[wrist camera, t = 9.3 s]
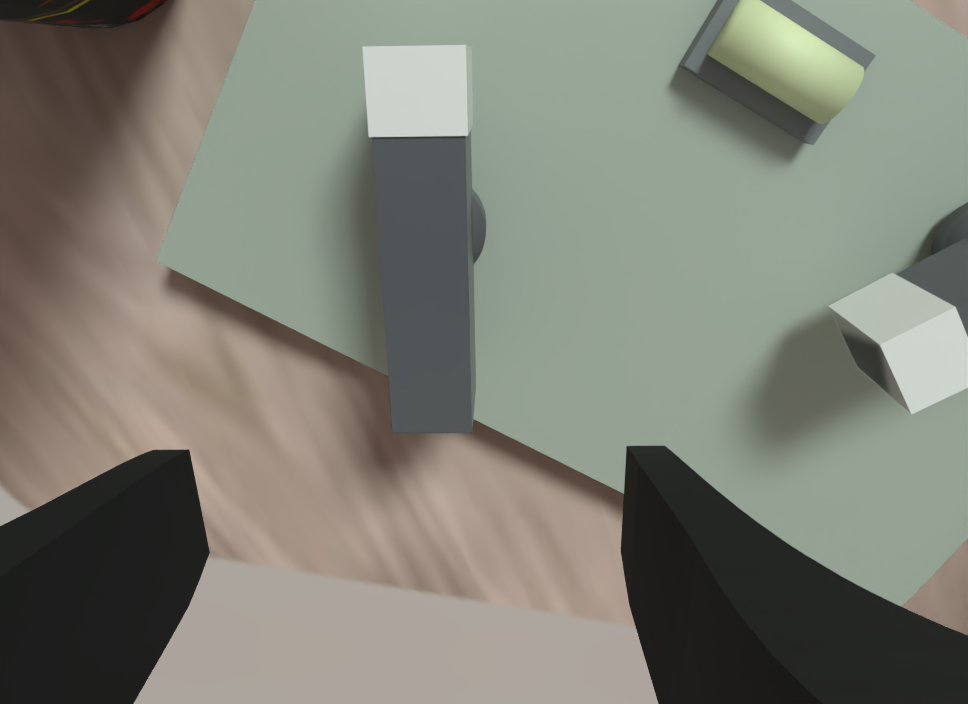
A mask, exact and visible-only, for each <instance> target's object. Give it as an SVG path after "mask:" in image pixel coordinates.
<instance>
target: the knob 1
mask: <svg viewBox="0 0 968 704" xmlns="http://www.w3.org/2000/svg"><path fill="white" fill-rule="evenodd" d="M362 49H363V63H364V78H365V92H366V106H367V120H368V135H369V137H372V148H373V163H374V177H375V192H376V206H377V221H378V235H379V250H380V265H381V279H382V294H383V308H384V323H385V337H386V352H387V366H388V381H389V395H390V410H391V425H392V433H472V429H473V417H474V405H475V393H476V359H475V309H474V263H475V262H476V261H477V259H478V258H479V256H480V254H481V252H482V250H483V247H484V243H485V237H486V225H487V222H486V214H485V210H484V207H483V204H482V202H481V200H480V198H479V197H478V195H477V194H476V193H475V192H474V190H473V189H472V160H471V128H472V126H473V91H472V47H470V46H467V45H421V46H362Z"/></svg>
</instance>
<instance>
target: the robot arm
mask: <svg viewBox="0 0 968 704" xmlns="http://www.w3.org/2000/svg"><path fill="white" fill-rule="evenodd" d="M209 553H210V552H209V547H208V542H207V537H206V532H205V527H204V522H203V517H202V512H201V507H200V502H199V496H198V491H197V486H196V481H195V476H194V471H193V466H192V461H191V456H190V451H189V450H152V451H149V452H147V453H144V454H142V455H139V456H137V457H135V458H133V459H131V460H128V461H126V462H124V463H122V464H120V465H118V466H116V467H114V468H112V469H110V470H108V471H107V472H105V473H103V474H101V475H99V476H97V477H95V478H93V479H91V480H89V481H88V482H86V483H84V484H82V485H80V486H78V487H76V488H74V489H72V490H71V491H69V492H67V493H65V494H63V495H61V496H59V497H57V498H55V499H54V500H52V501H50V502H48V503H46V504H44V505H42V506H40V507H38V508H36V509H34V510H32V511H30V512H28V513H26V514H24V515H22V516H20V517H18V518H16V519H14V520H12V521H10V522H8V523H6V524H4V525H2V526H0V704H133V703H134V702H135V700H136V698H137V696H138V694H139V693H140V691H141V689H142V688H143V686H144V684H145V682H146V681H147V679H148V677H149V675H150V674H151V672H152V670H153V668H154V667H155V665H156V663H157V662H158V660H159V658H160V656H161V655H162V653H163V651H164V649H165V648H166V646H167V644H168V642H169V641H170V639H171V637H172V635H173V633H174V632H175V630H176V628H177V626H178V625H179V623H180V621H181V619H182V617H183V615H184V613H185V612H186V610H187V608H188V606H189V604H190V602H191V599H192V597H193V594H194V592H195V589H196V587H197V585H198V582H199V580H200V577H201V574H202V572H203V569H204V566H205V563H206V561H207V558H208V555H209ZM621 555H622V561H623V568H624V575H625V581H626V587H627V593H628V599H629V605H630V608H631V612H632V615H633V619H634V622H635V626H636V629H637V633H638V636H639V639H640V643H641V646H642V650H643V653H644V656H645V660H646V663H647V666H648V669H649V673H650V676H651V680H652V683H653V686H654V690H655V693H656V696H657V700H658V703H659V704H968V636H967V635H965V634H962V633H960V632H957V631H955V630H952V629H950V628H947V627H945V626H943V625H940V624H938V623H936V622H934V621H931V620H929V619H927V618H924V617H922V616H920V615H918V614H915V613H913V612H911V611H909V610H907V609H905V608H903V607H901V606H899V605H897V604H895V603H893V602H890V601H888V600H886V599H884V598H882V597H880V596H878V595H876V594H874V593H872V592H870V591H868V590H866V589H864V588H862V587H860V586H859V585H857V584H855V583H853V582H851V581H849V580H847V579H846V578H844V577H842V576H840V575H838V574H837V573H835V572H833V571H832V570H830V569H828V568H827V567H825V566H823V565H822V564H820V563H818V562H817V561H815V560H813V559H812V558H810V557H808V556H806V555H805V554H803V553H802V552H800V551H799V550H797V549H795V548H794V547H792V546H791V545H789V544H788V543H786V542H785V541H783V540H782V539H781V538H779V537H778V536H776V535H775V534H774V533H772V532H771V531H769V530H768V529H766V528H765V527H764V526H762V525H761V524H759V523H758V522H757V521H755V520H754V519H753V518H751V517H750V516H749V515H747V514H746V513H745V512H743V511H742V510H741V509H740V508H738V507H737V506H736V505H734V504H733V503H732V502H731V501H729V500H728V499H727V498H726V497H725V496H723V495H722V494H721V493H720V492H718V491H717V490H716V489H715V488H714V487H713V486H711V485H710V484H709V483H708V482H707V481H705V480H704V479H703V478H702V477H701V476H700V475H699V474H697V473H696V472H695V471H694V470H693V469H692V468H690V467H689V466H688V465H687V464H686V463H685V462H684V461H682V460H681V459H680V458H679V457H678V456H677V455H676V454H674V453H673V452H672V451H671V450H670V449H668V448H667V447H666V446H627V447H626V465H625V484H624V502H623V521H622V539H621Z"/></svg>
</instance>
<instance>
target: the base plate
mask: <svg viewBox="0 0 968 704" xmlns="http://www.w3.org/2000/svg"><path fill="white" fill-rule="evenodd" d="M421 45H467V46H470V47H472V91H473V126H472V128H471V160H472V189H473V190H474V192H475V193H476V194H477V195H478V197H479V198H480V200H481V202H482V204H483V207H484V210H485V214H486V222H487V225H486V237H485V243H484V247H483V250H482V252H481V254H480V256H479V258H478V259H477V261H476V262H475V263H474V309H475V359H476V393H475V405H474V417H473V419H474V420H476V421H478V422H480V423H482V424H484V425H486V426H488V427H490V428H492V429H494V430H496V431H498V432H501V433H503V434H505V435H507V436H509V437H511V438H513V439H515V440H517V441H519V442H521V443H523V444H525V445H527V446H529V447H531V448H533V449H535V450H537V451H539V452H541V453H543V454H545V455H547V456H549V457H551V458H553V459H555V460H557V461H559V462H561V463H563V464H565V465H567V466H569V467H571V468H573V469H575V470H577V471H579V472H581V473H583V474H585V475H587V476H589V477H591V478H593V479H595V480H597V481H599V482H601V483H603V484H605V485H607V486H609V487H611V488H613V489H615V490H617V491H619V492H621V493H623V494H624V484H625V465H626V447H627V446H666V447H667V448H668V449H670V450H671V451H672V452H673V453H674V454H676V455H677V456H678V457H679V458H680V459H681V460H682V461H684V462H685V463H686V464H687V465H688V466H689V467H690V468H692V469H693V470H694V471H695V472H696V473H697V474H699V475H700V476H701V477H702V478H703V479H704V480H705V481H707V482H708V483H709V484H710V485H711V486H713V487H714V488H715V489H716V490H717V491H718V492H720V493H721V494H722V495H723V496H725V497H726V498H727V499H728V500H729V501H731V502H732V503H733V504H734V505H736V506H737V507H738V508H740V509H741V510H742V511H743V512H745V513H746V514H747V515H749V516H750V517H751V518H753V519H754V520H755V521H757V522H758V523H759V524H761V525H762V526H764V527H765V528H766V529H768V530H769V531H771V532H772V533H774V534H775V535H776V536H778V537H779V538H781V539H782V540H783V541H785V542H786V543H788V544H789V545H791V546H792V547H794V548H795V549H797V550H799V551H800V552H802V553H803V554H805V555H806V556H808V557H810V558H812V559H813V560H815V561H817V562H818V563H820V564H822V565H823V566H825V567H827V568H828V569H830V570H832V571H833V572H835V573H837V574H838V575H840V576H842V577H844V578H846V579H847V580H849V581H851V582H853V583H855V584H857V585H859V586H860V587H862V588H864V589H866V590H868V591H870V592H872V593H874V594H876V595H878V596H880V597H882V598H884V599H886V600H888V601H890V602H893V603H895V604H897V605H899V606H901V607H902V606H903V605H904V604H905V603H906V602H907V601H908V600H909V599H910V598H911V597H912V596H913V595H914V594H915V593H916V592H917V591H918V590H919V588H920V587H921V586H922V585H923V584H924V583H925V582H926V581H927V580H928V579H929V578H930V577H931V576H932V575H933V574H934V573H935V572H936V571H937V570H938V569H939V568H940V567H941V566H942V565H943V564H944V563H945V562H946V561H947V560H948V559H949V557H950V556H951V555H952V554H953V553H954V552H955V551H956V550H957V549H958V548H959V547H960V546H961V545H962V544H963V543H964V542H965V541H966V540H967V539H968V388H966V389H964V390H962V391H960V392H958V393H956V394H954V395H951V396H949V397H947V398H945V399H943V400H941V401H939V402H937V403H935V404H933V405H930V406H928V407H926V408H924V409H922V410H920V411H918V412H916V413H914V414H910V413H909V412H908V411H907V410H906V409H905V408H903V407H902V406H901V405H900V404H899V403H898V402H897V401H895V400H894V399H893V398H892V397H891V396H890V395H888V394H887V393H886V392H885V391H884V390H883V389H881V388H880V387H879V386H878V385H877V384H876V383H874V382H873V381H872V380H871V379H870V378H869V377H867V376H866V375H865V374H864V373H863V372H862V371H861V370H859V369H858V368H857V366H856V364H855V362H854V360H853V357H852V355H851V353H850V351H849V349H848V347H847V345H846V343H845V340H844V338H843V336H842V334H841V332H840V330H839V328H838V326H837V323H836V321H835V319H834V317H833V315H832V313H831V311H830V309H829V307H828V306H829V305H831V304H833V303H835V302H837V301H839V300H841V299H843V298H845V297H846V296H848V295H850V294H852V293H854V292H856V291H858V290H860V289H862V288H864V287H866V286H868V285H870V284H871V283H873V282H875V281H877V280H879V279H881V278H883V277H885V276H887V275H889V274H891V273H894V274H897V273H899V272H901V271H903V270H905V269H907V268H908V267H910V266H912V265H914V264H916V263H918V262H920V261H922V260H924V259H926V258H928V257H930V256H931V247H932V243H933V239H934V237H935V235H936V233H937V231H938V229H939V227H940V226H941V224H942V223H943V222H944V220H945V219H946V218H947V217H948V216H949V215H950V214H951V213H952V212H953V211H955V210H956V209H957V208H959V207H960V206H962V205H964V204H965V203H967V202H968V38H966V37H965V36H963V35H962V34H960V33H959V32H957V31H956V30H954V29H953V28H951V27H950V26H948V25H947V24H945V23H944V22H942V21H941V20H939V19H938V18H936V17H935V16H933V15H932V14H930V13H929V12H927V11H926V10H924V9H923V8H921V7H920V6H919V5H917V4H916V3H914V2H913V1H911V0H255V2H254V5H253V7H252V10H251V12H250V15H249V18H248V20H247V23H246V26H245V28H244V31H243V33H242V36H241V39H240V41H239V44H238V46H237V49H236V52H235V54H234V57H233V60H232V62H231V65H230V67H229V70H228V73H227V75H226V78H225V80H224V83H223V86H222V88H221V91H220V94H219V96H218V99H217V101H216V104H215V107H214V109H213V112H212V114H211V117H210V120H209V122H208V125H207V128H206V130H205V133H204V135H203V138H202V141H201V143H200V146H199V148H198V151H197V154H196V156H195V159H194V162H193V164H192V167H191V169H190V172H189V175H188V177H187V180H186V182H185V185H184V188H183V190H182V193H181V196H180V198H179V201H178V203H177V206H176V209H175V211H174V214H173V216H172V219H171V222H170V224H169V227H168V230H167V232H166V235H165V237H164V240H163V243H162V245H161V248H160V250H159V253H158V256H157V258H156V261H157V262H159V263H161V264H163V265H165V266H167V267H169V268H171V269H173V270H175V271H177V272H179V273H181V274H183V275H185V276H187V277H189V278H191V279H193V280H195V281H197V282H199V283H201V284H203V285H205V286H207V287H209V288H211V289H213V290H215V291H217V292H219V293H221V294H223V295H225V296H227V297H229V298H231V299H233V300H235V301H237V302H239V303H241V304H243V305H245V306H247V307H249V308H251V309H253V310H255V311H257V312H259V313H261V314H263V315H265V316H267V317H269V318H271V319H273V320H275V321H277V322H279V323H281V324H283V325H285V326H287V327H289V328H291V329H293V330H295V331H297V332H299V333H301V334H304V335H306V336H308V337H310V338H312V339H314V340H316V341H318V342H320V343H322V344H324V345H326V346H328V347H330V348H332V349H334V350H336V351H338V352H340V353H342V354H344V355H346V356H348V357H350V358H352V359H354V360H356V361H358V362H360V363H362V364H364V365H366V366H368V367H370V368H372V369H374V370H376V371H378V372H380V373H382V374H384V375H386V376H388V366H387V352H386V337H385V323H384V308H383V294H382V279H381V265H380V250H379V235H378V221H377V206H376V192H375V177H374V163H373V148H372V137H369V135H368V120H367V106H366V92H365V78H364V63H363V49H362V46H421Z"/></svg>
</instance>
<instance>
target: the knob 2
mask: <svg viewBox="0 0 968 704" xmlns="http://www.w3.org/2000/svg"><path fill="white" fill-rule="evenodd" d="M828 307H829V309H830V311H831V313H832V315H833V317H834V319H835V321H836V323H837V326H838V328H839V330H840V332H841V334H842V336H843V338H844V340H845V343H846V345H847V347H848V349H849V351H850V353H851V355H852V357H853V360H854V362H855V364H856V366H857V368H858V369H859V370H861V371H862V372H863V373H864V374H865V375H866V376H867V377H869V378H870V379H871V380H872V381H873V382H874V383H876V384H877V385H878V386H879V387H880V388H881V389H883V390H884V391H885V392H886V393H887V394H888V395H890V396H891V397H892V398H893V399H894V400H895V401H897V402H898V403H899V404H900V405H901V406H902V407H903V408H905V409H906V410H907V411H908V412H909V413H910V414H914V413H916V412H918V411H920V410H922V409H924V408H926V407H928V406H930V405H933V404H935V403H937V402H939V401H941V400H943V399H945V398H947V397H949V396H951V395H954V394H956V393H958V392H960V391H962V390H964V389H966V388H968V202H967V203H965V204H964V205H962V206H960V207H959V208H957V209H956V210H955V211H953V212H952V213H951V214H950V215H949V216H948V217H947V218H946V219H945V220H944V222H943V223H942V224H941V226H940V227H939V229H938V231H937V233H936V235H935V237H934V239H933V243H932V247H931V256H930V257H928V258H926V259H924V260H922V261H920V262H918V263H916V264H914V265H912V266H910V267H908V268H907V269H905V270H903V271H901V272H899V273H897V274H894V273H891V274H889V275H887V276H885V277H883V278H881V279H879V280H877V281H875V282H873V283H871V284H870V285H868V286H866V287H864V288H862V289H860V290H858V291H856V292H854V293H852V294H850V295H848V296H846V297H845V298H843V299H841V300H839V301H837V302H835V303H833V304H831V305H829V306H828Z"/></svg>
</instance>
